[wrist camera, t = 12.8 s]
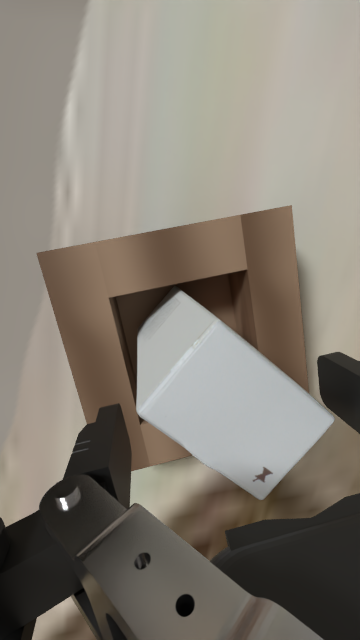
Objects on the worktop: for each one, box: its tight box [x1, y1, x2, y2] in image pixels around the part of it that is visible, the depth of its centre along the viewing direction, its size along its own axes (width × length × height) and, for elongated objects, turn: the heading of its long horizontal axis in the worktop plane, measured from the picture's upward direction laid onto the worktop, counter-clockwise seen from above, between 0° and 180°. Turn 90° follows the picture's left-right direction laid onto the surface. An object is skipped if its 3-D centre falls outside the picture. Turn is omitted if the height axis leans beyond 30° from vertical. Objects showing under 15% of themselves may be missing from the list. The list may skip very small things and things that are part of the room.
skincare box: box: [136, 286, 335, 500], centre depth 16 cm, size 6×4×12 cm
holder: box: [37, 205, 309, 471], centre depth 20 cm, size 14×14×5 cm
